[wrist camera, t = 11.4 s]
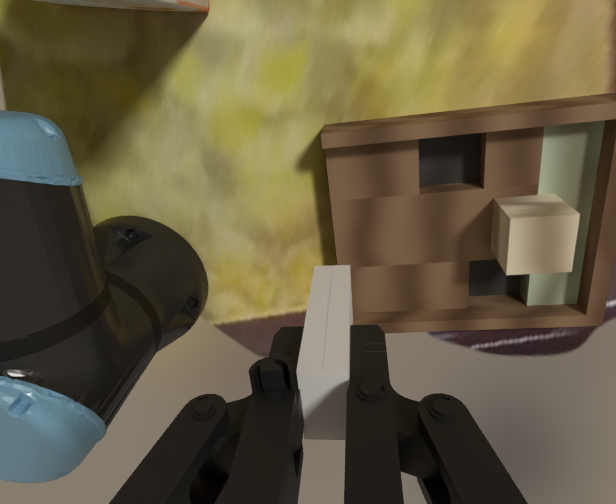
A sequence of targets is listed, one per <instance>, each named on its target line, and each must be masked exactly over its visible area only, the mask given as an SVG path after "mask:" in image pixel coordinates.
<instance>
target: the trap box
mask: <svg viewBox="0 0 616 504" xmlns="http://www.w3.org/2000/svg"><path fill="white" fill-rule="evenodd" d="M321 142H322V149H325V155H326V165H327V174H328V183H329V192H330V201H331V210H332V220H333V229H334V238H335V247H336V256H337V265H350V270H351V290H352V311H353V325H374V324H378V325H379V327H380V328H381V329H382V330H383V332H384V333H402V332H431V331H460V330H489V329H518V328H547V327H576V326H602V323H603V317H604V312H605V307H606V301H607V296H608V291H609V285H610V280H611V275H612V269H613V264H614V259H615V253H616V94H615V93H609V94H600V95H591V96H582V97H573V98H564V99H555V100H546V101H536V102H527V103H518V104H509V105H500V106H491V107H482V108H473V109H464V110H455V111H446V112H437V113H428V114H419V115H409V116H400V117H391V118H382V119H373V120H364V121H355V122H346V123H337V124H328V125H325V126H324V128H323V130H322V132H321ZM554 193H555V194H556V195H557V196H558V197H560V198H561V199H562V200H563V201H565V202H566V203H567V204H568V205H570V206H571V207H572V208H573V209H574V210H576V211H577V212H578V213H579V214H580V218H579V225H578V232H577V239H576V246H575V253H574V260H573V267H572V272H560V273H541V274H522V275H506V274H505V272H504V271H503V269H502V267H501V266H500V264H499V262H498V261H497V259H496V257H495V256H494V254H493V252H492V251H491V236H492V218H493V200H494V198H503V197H516V196H529V195H541V194H554Z"/></svg>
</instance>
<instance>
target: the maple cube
mask: <svg viewBox="0 0 616 504" xmlns="http://www.w3.org/2000/svg"><path fill="white" fill-rule="evenodd" d="M579 218H580V214H579V213H578V212H577V211H576V210H574V209H573V208H572V207H571V206H570V205H568V204H567V203H566V202H565V201H563V200H562V199H561V198H560V197H558V196H557V195H556V194H555V193H554V194H541V195H529V196H516V197H503V198H494V200H493V218H492V236H491V251H492V252H493V254H494V256H495V257H496V259H497V261H498V262H499V264H500V266H501V267H502V269H503V271H504V272H505V274H506V275H522V274H541V273H560V272H572V267H573V260H574V253H575V246H576V239H577V232H578V225H579Z"/></svg>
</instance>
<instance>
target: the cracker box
mask: <svg viewBox="0 0 616 504" xmlns="http://www.w3.org/2000/svg"><path fill="white" fill-rule="evenodd" d="M33 1H40V2H46V3H53V4H63V5H76V6H89V7H105V8H121V9H138V10H156V11H178V12H203V13H208V12H209V0H33Z"/></svg>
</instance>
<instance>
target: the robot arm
mask: <svg viewBox="0 0 616 504" xmlns="http://www.w3.org/2000/svg"><path fill="white" fill-rule="evenodd" d="M83 184H84V183H83V179H82V177H81V176H80V175H78V172H77V169H76V166H75V163H74V160H73V157H72V155H71V152H70V149H69V146H68V143H67V140H66V137H65V135H64V133H63V132H62V130H61V129H60V128H59V127H58V126H57V125H56V124H55V123H54V122H53V121H51V120H50V119H48V118H46V117H43V116H41V115H37V114H33V113H27V112H16V111H0V480H5V481H10V482H18V483H41V482H48V481H52V480H55V479H58V478H60V477H63V476H65V475H67V474H68V473H70V472H71V471H72V470H74V469H75V468H76V467H77V466H78V465H79V464H80V463H81V462H82V461H83V460H84V458H85V457H86V456H87V454H88V453H89V452H90V450H91V449H92V448H93V447H94V445H95V444H96V443H97V442H98V441H99V440H101V439H102V438H103V437H104V435H105V433H106V430H107V427H108V426H109V424H110V423H111V421H112V420H113V418H114V417H115V415H116V413H117V412H118V410H119V409H120V407H121V406H122V404H123V403H124V401H125V399H126V398H127V396H128V395H129V393H130V392H131V390H132V389H133V387H134V385H135V384H136V382H137V381H138V379H139V378H140V376H141V375H142V373H143V372H144V370H145V369H146V367H147V366H148V364H149V363H150V361H151V360H152V358H153V356H154V355H155V354H156V352H158V351H159V350H161V349H162V348H164V347H165V346H167V345H168V344H170V343H172V342H173V341H175V340H176V339H178V338H179V337H181V336H182V335H184V334H185V333H186V332H187V331H188V330H189V329H190V328H191V327H192V326H193V325H194V324H195V322H196V321H197V319H198V317H199V316H200V314H201V312H202V311H203V309H204V307H205V304H206V301H207V296H208V280H207V275H206V272H205V269H204V266H203V264H202V262H201V260H200V258H199V256H198V255H197V253H196V252H195V250H194V249H193V248H192V247H191V245H190V244H189V243H188V242H187V241H186V240H185V239H184V238H183V237H181V236H180V235H179V234H178V233H176V232H175V231H174V230H172V229H171V228H169V227H167V226H165V225H163V224H161V223H159V222H157V221H154V220H151V219H148V218H143V217H138V216H119V217H114V218H110V219H107V220H105V221H102V222H101V223H99V224H97V225H96V226H94V227H92V223H91V219H90V215H89V212H88V208H87V204H86V200H85V196H84V192H83V188H82V185H83ZM249 375H250V381H251V386H252V391H253V392H252V394H251V395H250V396H248V397H246V398H243V399H240V400H237V401H233V402H229V403H226V401H225V400H224V399H223V398H222V397H221V396H219V395H216V394H205V395H201V396H198V397H196V398H194V399H192V400H191V401H189V403H187V404H186V405H185V406H184V408H183V409H182V410H181V411H180V413H179V414H178V415H177V417H176V418H175V419H174V420H173V422H172V423H171V424H170V426H169V427H168V428H167V429H166V431H165V432H164V433H163V435H162V436H161V437H160V439H159V440H158V441H157V442H156V444H155V445H154V446H153V448H152V449H151V450H150V452H149V453H148V454H147V455H146V457H145V458H144V459H143V460H142V462H141V463H140V464H139V466H138V467H137V468H136V470H135V471H134V472H133V473H132V475H131V476H130V477H129V478H128V480H127V481H126V482H125V484H124V485H123V486H122V488H121V489H120V490H119V491H118V493H117V494H116V496H115V497H114V498H113V499H112V500H111V502H110V503H109V504H297V503H298V495H299V486H300V477H301V470H302V462H303V447H302V438H303V430H304V438H305V439H326V440H327V439H328V440H346V447H345V490H344V504H404V501H403V491H402V481H401V472H404V473H407V474H410V475H413V476H416V477H417V480H418V483H419V485H420V488H421V490H422V493H423V495H424V497H425V500H426V502H427V504H527V502H526V500H525V499H524V497H523V495H522V494H521V492H520V491H519V489H518V488H517V486H516V484H515V483H514V481H513V480H512V478H511V477H510V475H509V473H508V472H507V470H506V469H505V467H504V466H503V464H502V463H501V461H500V459H499V458H498V456H497V455H496V453H495V452H494V450H493V448H492V447H491V445H490V444H489V442H488V441H487V439H486V438H485V436H484V435H483V433H482V431H481V430H480V428H479V427H478V425H477V423H476V422H475V420H474V419H473V417H472V416H471V414H470V412H469V411H468V409H467V408H466V406H465V405H464V404H463V403H462V402H461V401H460V400H458V399H457V398H455V397H453V396H451V395H446V394H443V393H440V394H431V395H428V396H425V397H424V398H423V399H422V400H421V401H420V402H417V401H414V400H410V399H407V398H405V397H403V396H401V395H399V394H398V393H397V392H396V391H394V389H393V388H392V386H391V384H390V380H389V371H388V361H387V352H386V342H385V333H384V332H383V330H382V329H381V328H380V327H379V325H378V324H374V325H353V311H352V290H351V270H350V265H332V266H315V267H314V273H313V278H312V284H311V290H310V296H309V301H308V307H307V313H306V319H305V324H304V327H281V329H280V330H279V331H278V332H277V333H276V334H275V335H274V338H273V342H272V347H271V349H270V354H269V357H265V358H263V359H260V360H258V361H257V362H256V363H254V364H253V365H252V366H251V368H250V369H249ZM400 471H401V472H400Z"/></svg>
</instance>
